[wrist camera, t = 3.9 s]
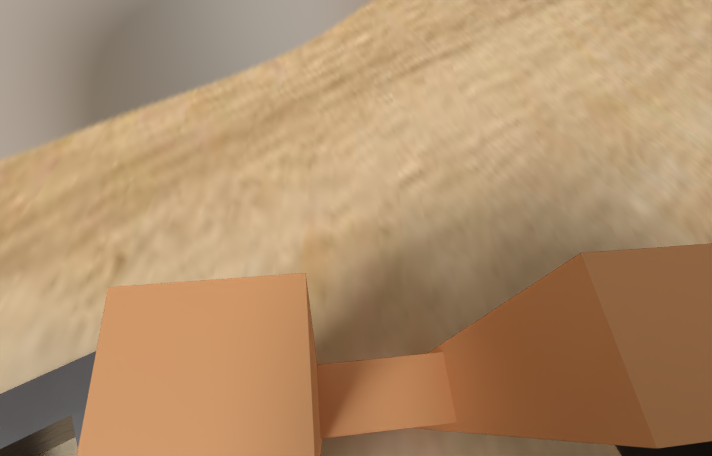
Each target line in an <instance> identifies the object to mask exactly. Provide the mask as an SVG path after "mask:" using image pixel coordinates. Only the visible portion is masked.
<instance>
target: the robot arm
mask: <svg viewBox="0 0 712 456" xmlns="http://www.w3.org/2000/svg"><path fill="white" fill-rule="evenodd" d="M615 446H616V447H617V449H618V451H619V452H620V454H621V456H712V441H708V442H701V443H694V444H687V445H679V446H672V447H665V448H645V447H633V446H621V445H615Z"/></svg>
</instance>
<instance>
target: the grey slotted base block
mask: <svg viewBox="0 0 712 456" xmlns="http://www.w3.org/2000/svg"><path fill="white" fill-rule="evenodd" d="M95 355H96V352H93V353H91V354H89V355H87V356H84V357H82V358H80V359H78V360H75V361H73V362H71V363H69V364H67V365H64V366H62V367H60V368H58V369H55V370H53V371H51V372H49V373H46V374H44V375H42V376H40V377H38V378H35V379H33V380H31V381H29V382H26V383H24V384H22V385H20V386H17V387H15V388H13V389H11V390H9V391H6V392H4V393H2V394H0V456H38V455H40V454H42V453H44V452H46V451H48V450H50V449H52V448H54V447H56V446H58V445H60V444H62V443H64V442H66V441H68V440H70V439H72V438H74V437H76V440H77V445H78V447H79V441H80V436H81V431H82V425H83V420H84V414H85V409H86V404H87V398H88V393H89V388H90V382H91V377H92V371H93V366H94V361H95Z"/></svg>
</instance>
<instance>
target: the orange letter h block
mask: <svg viewBox="0 0 712 456" xmlns="http://www.w3.org/2000/svg"><path fill="white" fill-rule="evenodd" d="M406 428H418V429H430V430H442V431H454V432H466V433H478V434H490V435H502V436H514V437H526V438H538V439H550V440H561V441H573V442H585V443H597V444H609V445H621V446H633V447H645V448H665V447H672V446H679V445H687V444H694V443H701V442H708V441H712V244H698V245H685V246H671V247H657V248H643V249H629V250H616V251H602V252H588V253H580V254H579V255H577V256H576V257H574V258H573V259H571V260H569V261H568V262H566V263H565V264H563V265H562V266H560V267H559V268H557V269H556V270H554V271H553V272H551V273H550V274H548V275H546V276H545V277H543V278H542V279H540V280H539V281H537V282H536V283H534V284H533V285H531V286H530V287H528V288H527V289H525V290H524V291H522V292H520V293H519V294H517V295H516V296H514V297H513V298H511V299H510V300H508V301H507V302H505V303H504V304H502V305H501V306H499V307H497V308H496V309H494V310H493V311H491V312H490V313H488V314H487V315H485V316H484V317H482V318H481V319H479V320H478V321H476V322H475V323H473V324H471V325H470V326H468V327H467V328H465V329H464V330H462V331H461V332H459V333H458V334H456V335H455V336H453V337H452V338H450V339H448V340H447V341H445V342H444V343H442V344H441V345H439V346H438V347H436V348H435V349H433V350H432V351H430V352H429V353H427V354H419V355H409V356H399V357H389V358H378V359H368V360H358V361H348V362H338V363H328V364H318V365H317V359H316V351H315V343H314V335H313V327H312V319H311V311H310V303H309V295H308V287H307V279H306V273H298V274H284V275H271V276H257V277H243V278H229V279H215V280H202V281H188V282H174V283H160V284H146V285H133V286H119V287H108V291H107V296H106V302H105V307H104V312H103V318H102V323H101V328H100V334H99V339H98V345H97V350H96V355H95V361H94V366H93V371H92V377H91V382H90V388H89V393H88V398H87V404H86V409H85V414H84V420H83V425H82V431H81V436H80V441H79V447H78V452H77V456H321V447H322V439H323V438H331V437H340V436H348V435H356V434H365V433H373V432H381V431H389V430H398V429H406Z"/></svg>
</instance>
